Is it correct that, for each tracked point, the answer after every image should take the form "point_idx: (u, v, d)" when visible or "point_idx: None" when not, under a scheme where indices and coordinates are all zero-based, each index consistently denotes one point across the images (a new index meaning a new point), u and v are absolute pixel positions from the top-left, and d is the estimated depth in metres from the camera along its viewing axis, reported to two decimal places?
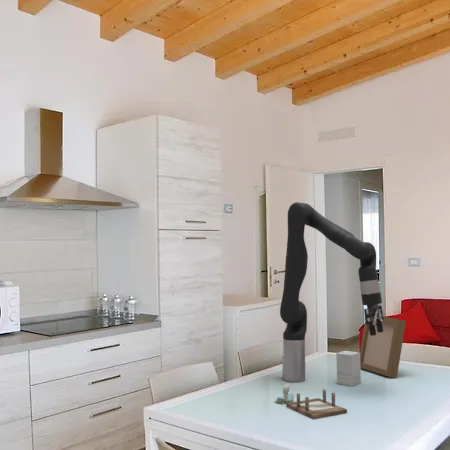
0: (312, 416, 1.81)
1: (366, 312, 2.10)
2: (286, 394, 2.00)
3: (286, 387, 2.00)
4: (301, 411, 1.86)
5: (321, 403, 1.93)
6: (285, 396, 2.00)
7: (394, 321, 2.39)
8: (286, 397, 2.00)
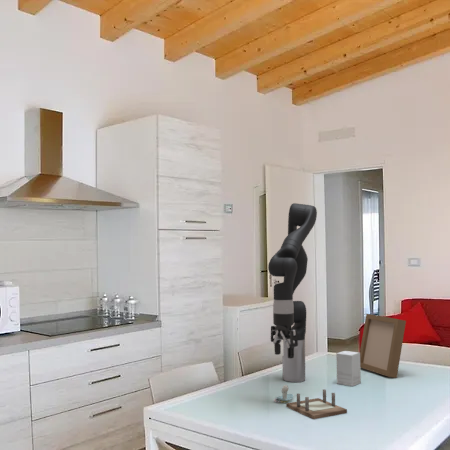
0: (312, 416, 1.81)
1: None
2: (285, 394, 2.01)
3: (285, 387, 2.00)
4: (301, 411, 1.86)
5: (321, 403, 1.93)
6: (284, 396, 2.00)
7: (394, 321, 2.39)
8: (285, 397, 2.00)
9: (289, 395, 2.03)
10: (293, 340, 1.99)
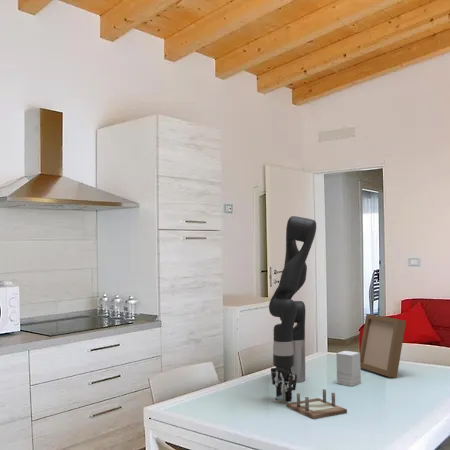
0: (312, 416, 1.81)
1: None
2: (284, 393, 2.01)
3: (284, 386, 2.00)
4: (301, 411, 1.86)
5: (321, 403, 1.93)
6: (283, 395, 2.00)
7: (394, 321, 2.39)
8: (284, 396, 2.01)
9: None
10: None
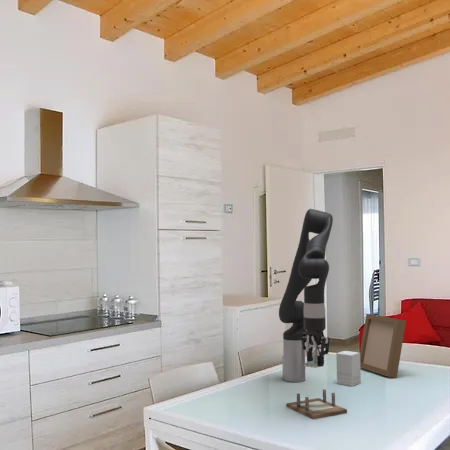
0: (312, 416, 1.81)
1: None
2: (316, 358, 1.91)
3: (316, 351, 1.90)
4: (301, 411, 1.86)
5: (321, 403, 1.93)
6: (315, 360, 1.90)
7: (394, 321, 2.39)
8: (316, 361, 1.91)
9: None
10: None
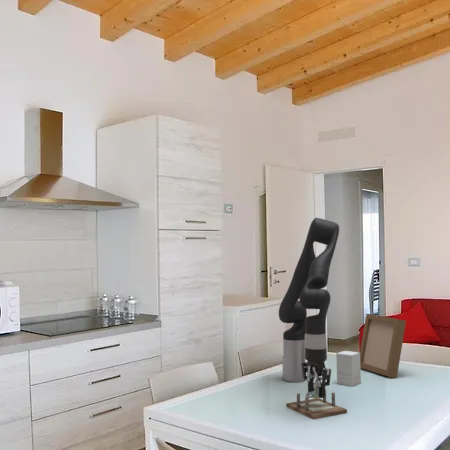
0: (312, 416, 1.81)
1: None
2: (317, 389, 1.90)
3: (317, 381, 1.90)
4: (301, 411, 1.86)
5: (321, 403, 1.93)
6: (316, 391, 1.90)
7: (394, 321, 2.39)
8: (317, 392, 1.90)
9: None
10: None
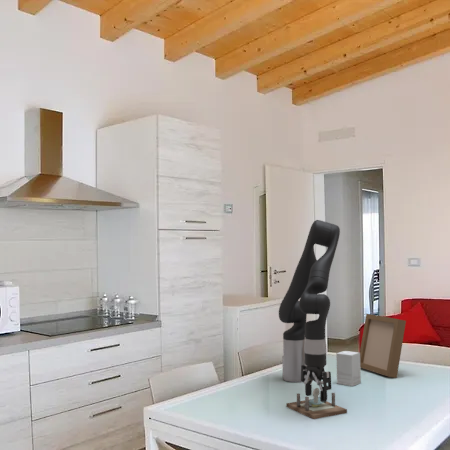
0: (312, 416, 1.81)
1: None
2: (316, 397, 1.90)
3: (316, 390, 1.90)
4: (301, 411, 1.86)
5: None
6: (315, 399, 1.90)
7: (394, 321, 2.39)
8: (316, 400, 1.90)
9: None
10: None
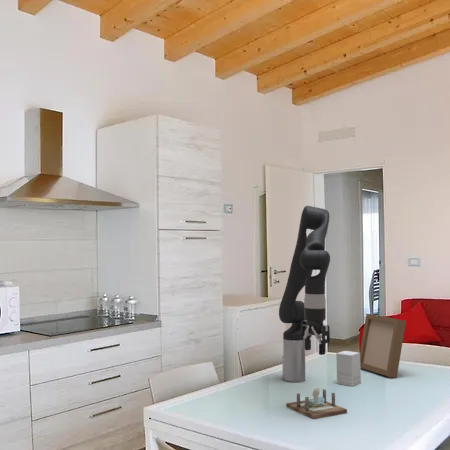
0: (312, 416, 1.81)
1: None
2: (316, 397, 1.90)
3: (316, 390, 1.90)
4: (301, 411, 1.86)
5: None
6: (315, 399, 1.90)
7: (394, 321, 2.39)
8: (316, 400, 1.90)
9: (320, 398, 1.93)
10: None
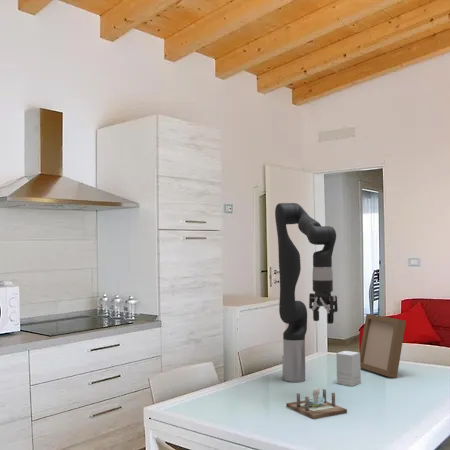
0: (312, 416, 1.81)
1: None
2: (316, 397, 1.90)
3: (316, 390, 1.90)
4: (301, 411, 1.86)
5: None
6: (315, 399, 1.90)
7: (394, 321, 2.39)
8: (316, 400, 1.90)
9: (320, 398, 1.93)
10: None
